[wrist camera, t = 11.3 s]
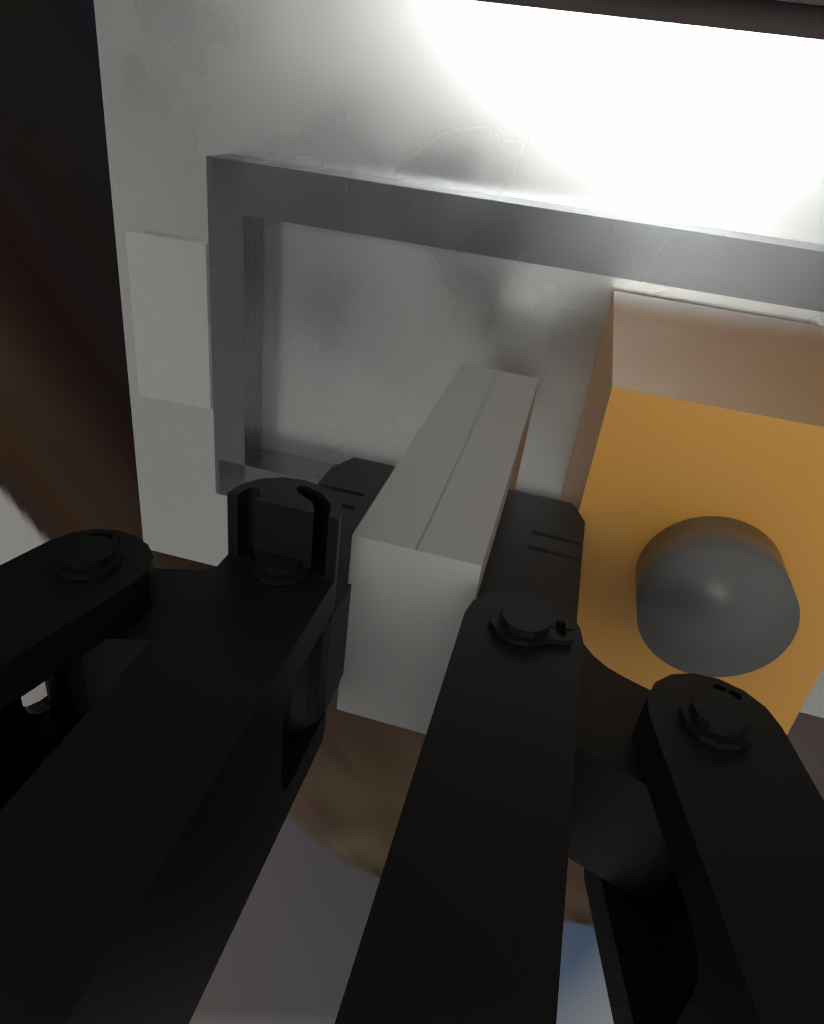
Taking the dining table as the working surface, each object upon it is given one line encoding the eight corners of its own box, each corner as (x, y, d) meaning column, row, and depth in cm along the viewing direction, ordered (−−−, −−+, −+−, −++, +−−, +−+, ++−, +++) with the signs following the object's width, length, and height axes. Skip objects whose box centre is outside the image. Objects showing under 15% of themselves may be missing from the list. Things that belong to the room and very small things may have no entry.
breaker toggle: (559, 503, 17) (529, 712, 11) (613, 290, 14) (611, 413, 9) (734, 541, 16) (800, 785, 10) (822, 326, 14) (976, 485, 8)
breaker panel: (178, 516, 23) (124, 566, 20) (146, -26, 16) (55, -53, 13) (840, 674, 20) (873, 757, 17) (1169, 91, 13) (1306, 86, 10)
